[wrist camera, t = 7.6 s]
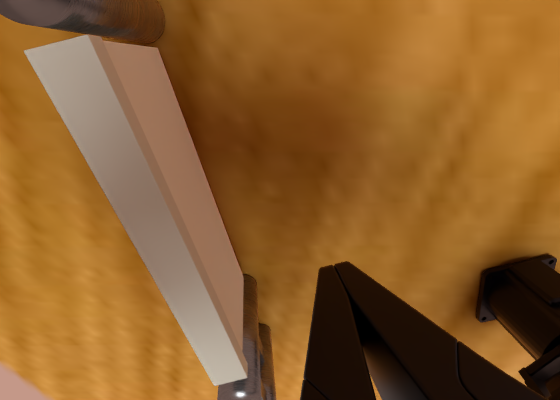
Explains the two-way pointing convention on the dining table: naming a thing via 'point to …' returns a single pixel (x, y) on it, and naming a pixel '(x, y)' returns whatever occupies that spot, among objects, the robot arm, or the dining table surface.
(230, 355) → the gate panel
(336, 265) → the robot arm
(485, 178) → the dining table surface
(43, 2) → the gate frame
